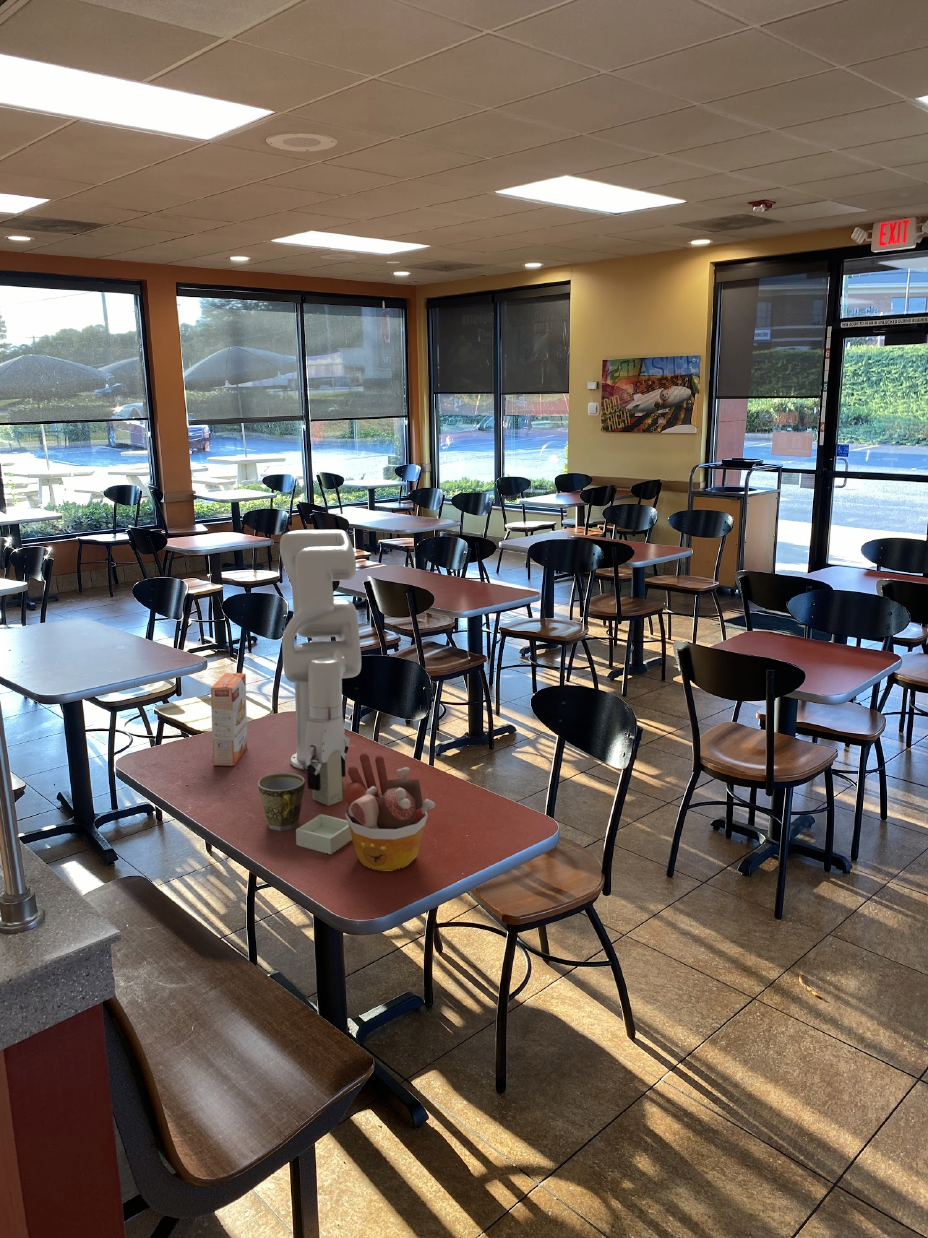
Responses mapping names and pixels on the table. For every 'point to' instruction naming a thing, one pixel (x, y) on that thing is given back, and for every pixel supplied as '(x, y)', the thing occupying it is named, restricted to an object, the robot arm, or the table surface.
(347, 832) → the holder
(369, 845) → the bucket of meat
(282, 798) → the ceramic cup
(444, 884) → the table surface
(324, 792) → the skincare box
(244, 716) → the cracker box
